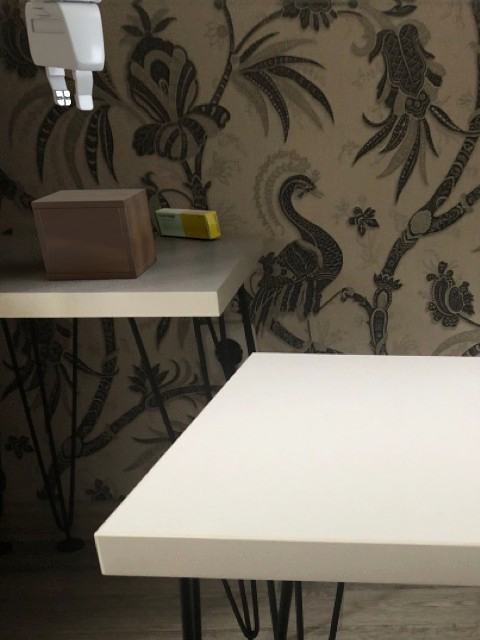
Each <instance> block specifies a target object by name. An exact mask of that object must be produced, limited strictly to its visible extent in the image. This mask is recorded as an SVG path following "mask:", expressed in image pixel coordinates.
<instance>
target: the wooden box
mask: <svg viewBox="0 0 480 640" xmlns="http://www.w3.org/2000/svg"><path fill="white" fill-rule="evenodd" d="M146 189H147V188H115V189H114V188H111V189H110V188H109V189H108V188H107V189H104V188H103V189H61V190H58V191H56V192H53V193H51V194H48V195H46V196H43V197H40V198H38V199H36V200H33V201H31V202H30V204H31V208H32V213H33V218H34V223H35V227H36V232H37V236H38V241H39V245H40V250H41V255H42V259H43V263H44V268H45V272H46V276H47V280H48V281H76V280H77V281H78V280H79V281H81V280H83V281H84V280H119V279H122V280H123V279H124V280H125V279H126V280H127V279H138V278H140V276H141V275H142V274H144V272H146V271H147V270H148V269H150V267H151V266H152V265H154V264H155V263H156V262H157V261H158V258H157V257H158V256H157V251H156V245H155V238H154V232H153V226H152V220H151V214H150V207H149V202H148V196H147V190H146Z"/></svg>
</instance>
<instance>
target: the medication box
mask: <svg viewBox="0 0 480 640" xmlns="http://www.w3.org/2000/svg"><path fill="white" fill-rule="evenodd" d="M153 214H154V216H155V220H156V224H157V227H158V232H159V235H160V237H162V236H168V237H169V236H170V237H182V238H191V239H192V238H194V239H205V240H213V239H215V238H218V237H220V236H222V233H221V229H220V225H219V220H218V216H217V215H218V214H217V211H215V210H204V209H203V210H202V209H186V208H185V209H184V208H167V207H163V208H159V209H157V210H155V211H154V213H153Z"/></svg>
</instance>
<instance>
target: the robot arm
mask: <svg viewBox="0 0 480 640" xmlns="http://www.w3.org/2000/svg"><path fill="white" fill-rule="evenodd" d="M101 2H102V0H29V1H28V2H26V3H25V7H24V8H25V9H24V13H25V14H24V15H25V24H26V31H27V37H28V44H29V45H28V46H29V52H30V55H31V58H32V61H33V64H34V65H36V66H41V67H44V69H45V73H46V77H47V80H48V83H49V86H50V88H51V90H52V94H53V100H54V103H55V104H56V105H57V106H70V105H71V96H70V90H68V87H67V84H66V80H65V76H66V74H65V73H66V72H65V70H71V73H72V78H73V80H74V87H75V93H74V94H73V95H74V101H75V106H76V108H77V109H78V110H81V111H92V110H93V109H94V101H93V86H94V78H93V72H101V71H103V70H104V66H105V61H106V60H105V57H106V56H105V43H104V42H105V41H104V32H103V24H102V17H101V16H102V15H101V10H100V7H99V6H98V4H99V3H101Z"/></svg>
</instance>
